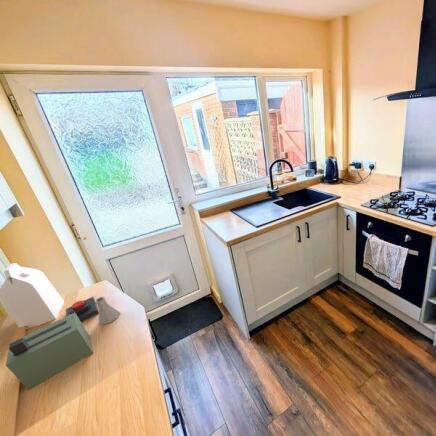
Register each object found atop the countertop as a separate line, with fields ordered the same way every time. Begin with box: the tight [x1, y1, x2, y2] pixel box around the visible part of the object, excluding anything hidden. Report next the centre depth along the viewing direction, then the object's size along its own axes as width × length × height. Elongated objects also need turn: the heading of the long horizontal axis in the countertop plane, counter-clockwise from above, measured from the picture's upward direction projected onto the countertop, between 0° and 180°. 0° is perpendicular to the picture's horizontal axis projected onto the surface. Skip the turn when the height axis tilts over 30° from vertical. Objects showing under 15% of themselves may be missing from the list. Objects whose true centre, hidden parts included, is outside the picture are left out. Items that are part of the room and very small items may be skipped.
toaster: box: [5, 313, 94, 391], centre depth 83 cm, size 11×17×12 cm, turn 133°
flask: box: [95, 296, 121, 325], centre depth 100 cm, size 7×7×10 cm
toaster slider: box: [8, 337, 29, 356], centre depth 75 cm, size 2×3×4 cm
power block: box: [65, 296, 99, 323], centre depth 105 cm, size 12×10×4 cm
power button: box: [71, 299, 85, 310], centre depth 104 cm, size 4×4×2 cm
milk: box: [0, 262, 65, 330], centre depth 102 cm, size 12×12×26 cm
